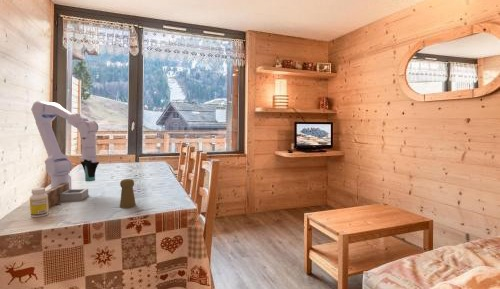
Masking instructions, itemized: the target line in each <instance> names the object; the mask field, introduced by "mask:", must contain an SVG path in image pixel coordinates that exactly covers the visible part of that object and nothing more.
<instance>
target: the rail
mask: <svg viewBox="0 0 500 289" xmlns="http://www.w3.org/2000/svg"><path fill="white" fill-rule="evenodd" d="M68 189H69V183H61V184H59V185H57V186H55V187H53V188H51V187H50V188H49V189H47V190H45V194H47V195H48V205H49V209H50V208H52V207H53V206H54V205H56V204H58V203H59V202H61V201H60V194H61V193H62V192H64V191H66V190H68Z"/></svg>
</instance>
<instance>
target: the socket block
mask: <svg viewBox="0 0 500 289" xmlns="http://www.w3.org/2000/svg"><path fill="white" fill-rule="evenodd" d="M88 196H89V188H72V189H68V190H66V191H64V192H62V193H61V194H60V201H59V202H70V201H71V202H72V201H83V200H84V199H86V198H87V197H88Z"/></svg>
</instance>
